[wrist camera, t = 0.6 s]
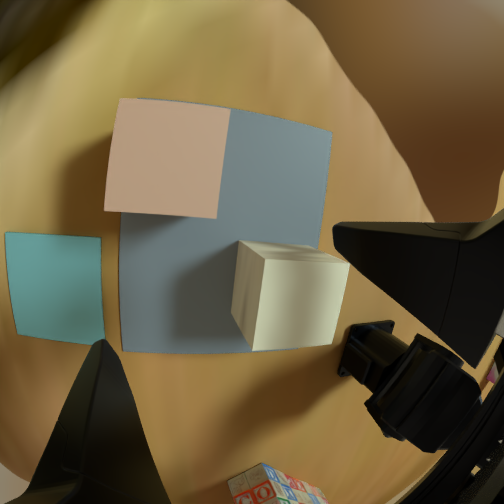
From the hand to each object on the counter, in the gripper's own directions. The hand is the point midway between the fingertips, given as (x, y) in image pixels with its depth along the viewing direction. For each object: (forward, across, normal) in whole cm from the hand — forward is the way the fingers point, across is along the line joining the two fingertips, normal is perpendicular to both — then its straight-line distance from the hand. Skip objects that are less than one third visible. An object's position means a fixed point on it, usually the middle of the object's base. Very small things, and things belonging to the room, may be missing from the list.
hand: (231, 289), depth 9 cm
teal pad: (+14, +11, +2) cm, 18 cm away
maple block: (+10, -6, +8) cm, 14 cm away
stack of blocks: (+4, +3, +43) cm, 44 cm away
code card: (+11, -4, +4) cm, 12 cm away
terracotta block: (+13, -1, -3) cm, 13 cm away
